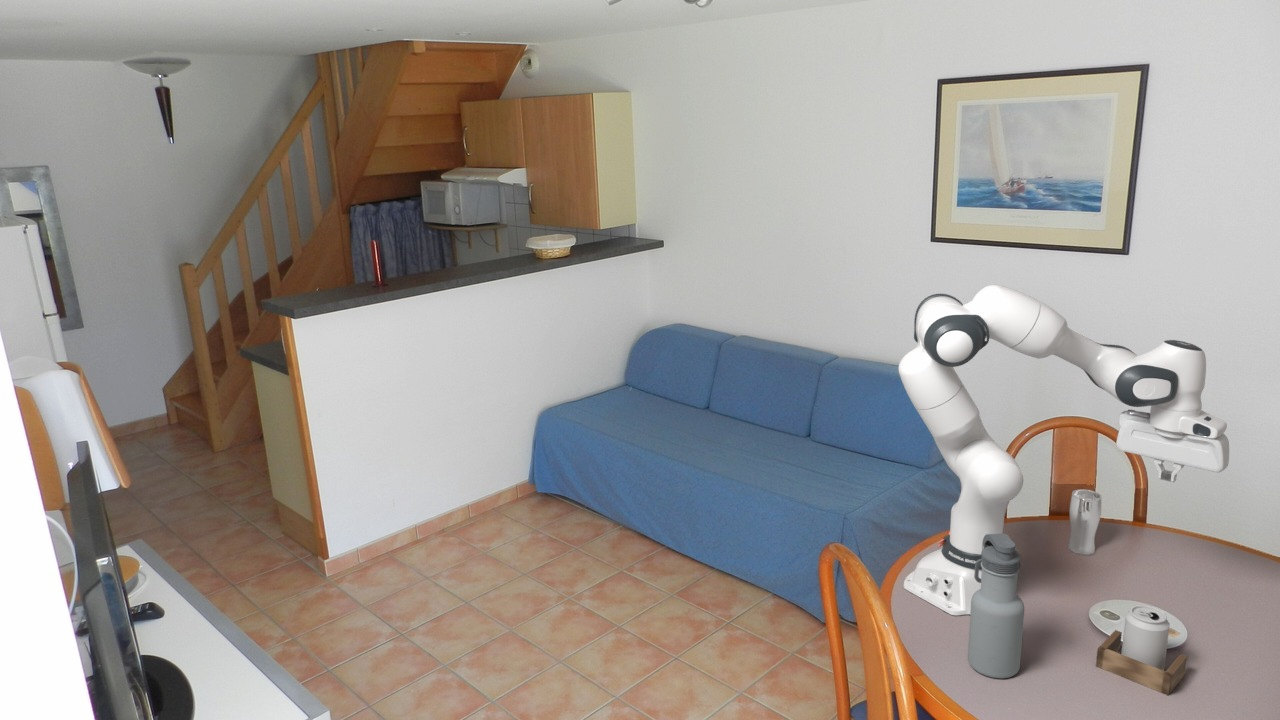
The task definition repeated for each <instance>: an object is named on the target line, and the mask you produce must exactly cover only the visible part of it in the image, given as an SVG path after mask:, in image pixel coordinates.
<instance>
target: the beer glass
mask: <svg viewBox="0 0 1280 720" xmlns="http://www.w3.org/2000/svg"><path fill="white" fill-rule="evenodd" d="M1101 515H1102V495H1101V494H1100V493H1099V492H1097V491H1094V490H1092V489H1084V488H1083V489H1075V490H1073V491H1072V492H1071V497H1070V503H1069V522H1070V539H1069V542H1068V544H1067V545H1068V546H1067V548H1068V550H1070V552H1072V553H1075V554H1077V555H1081V556H1090V555H1094V553H1096V545H1095V537H1096V533H1097V530H1098V528H1099V524H1100V520H1101V517H1102V516H1101Z"/></svg>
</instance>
